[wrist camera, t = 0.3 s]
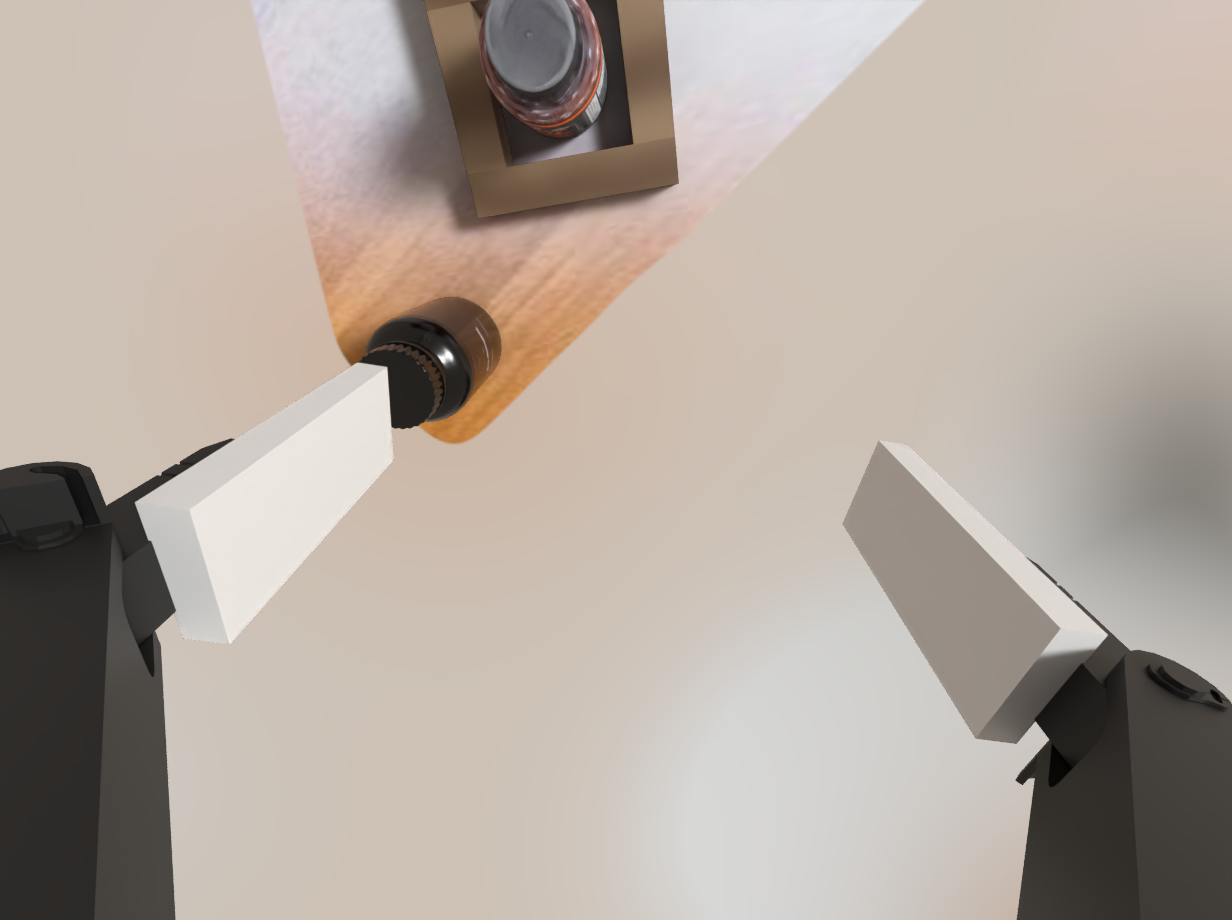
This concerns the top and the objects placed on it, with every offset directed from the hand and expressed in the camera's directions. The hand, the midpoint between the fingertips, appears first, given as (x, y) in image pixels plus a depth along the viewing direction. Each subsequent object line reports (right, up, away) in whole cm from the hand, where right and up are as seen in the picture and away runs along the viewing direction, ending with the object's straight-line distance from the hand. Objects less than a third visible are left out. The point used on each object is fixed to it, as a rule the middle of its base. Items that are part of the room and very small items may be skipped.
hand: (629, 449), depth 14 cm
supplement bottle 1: (-12, +9, +26) cm, 30 cm away
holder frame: (-4, +23, +18) cm, 29 cm away
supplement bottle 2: (-4, +23, +18) cm, 30 cm away
